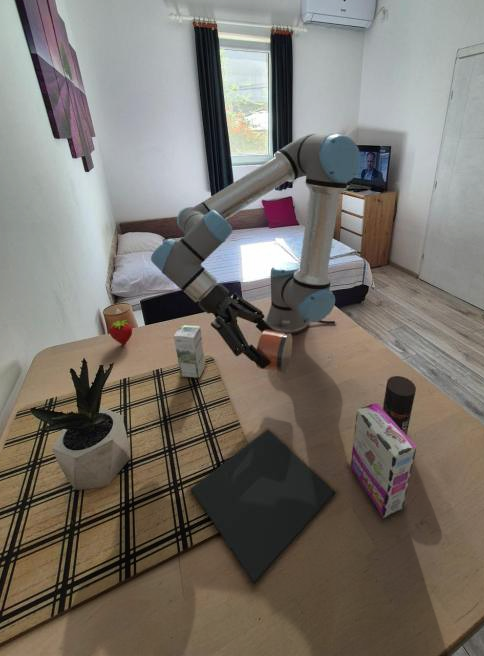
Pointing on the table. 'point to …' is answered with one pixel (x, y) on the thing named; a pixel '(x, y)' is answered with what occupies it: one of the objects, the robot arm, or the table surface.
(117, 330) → the strawberry
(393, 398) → the deodorant
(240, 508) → the mat
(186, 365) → the syrup box
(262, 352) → the jar
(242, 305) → the robot arm
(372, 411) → the candy bar box
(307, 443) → the table surface
